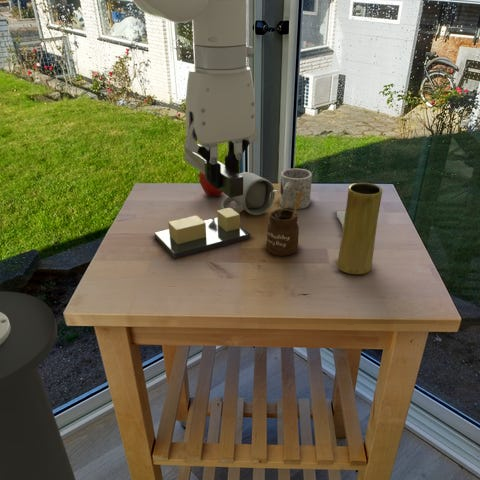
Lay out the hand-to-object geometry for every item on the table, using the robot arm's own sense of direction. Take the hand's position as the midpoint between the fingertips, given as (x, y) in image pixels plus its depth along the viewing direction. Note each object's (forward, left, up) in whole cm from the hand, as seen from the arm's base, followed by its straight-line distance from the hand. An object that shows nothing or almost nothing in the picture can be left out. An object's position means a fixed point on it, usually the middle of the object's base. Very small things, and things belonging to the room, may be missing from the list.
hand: (223, 183), depth 81 cm
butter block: (-2, +11, -14) cm, 18 cm away
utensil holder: (+12, -1, -15) cm, 19 cm away
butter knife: (+25, -4, -15) cm, 29 cm away
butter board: (+1, +11, -15) cm, 18 cm away
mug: (+25, +15, -15) cm, 32 cm away
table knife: (0, +5, -1) cm, 5 cm away
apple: (+13, +29, -15) cm, 35 cm away
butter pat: (+6, +11, -14) cm, 19 cm away
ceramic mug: (+15, +18, -15) cm, 27 cm away
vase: (+19, -13, -15) cm, 27 cm away
